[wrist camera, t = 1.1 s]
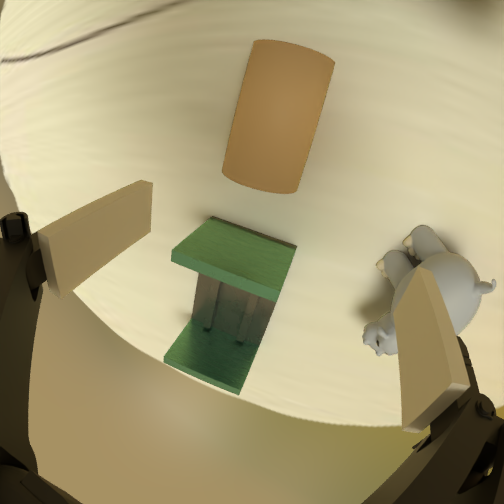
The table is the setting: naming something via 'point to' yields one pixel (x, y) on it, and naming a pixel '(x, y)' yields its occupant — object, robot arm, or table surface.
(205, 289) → the holder
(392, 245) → the table surface
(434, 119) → the table surface
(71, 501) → the robot arm
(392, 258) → the hippopotamus toy
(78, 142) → the table surface
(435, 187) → the table surface
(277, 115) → the cylinder
